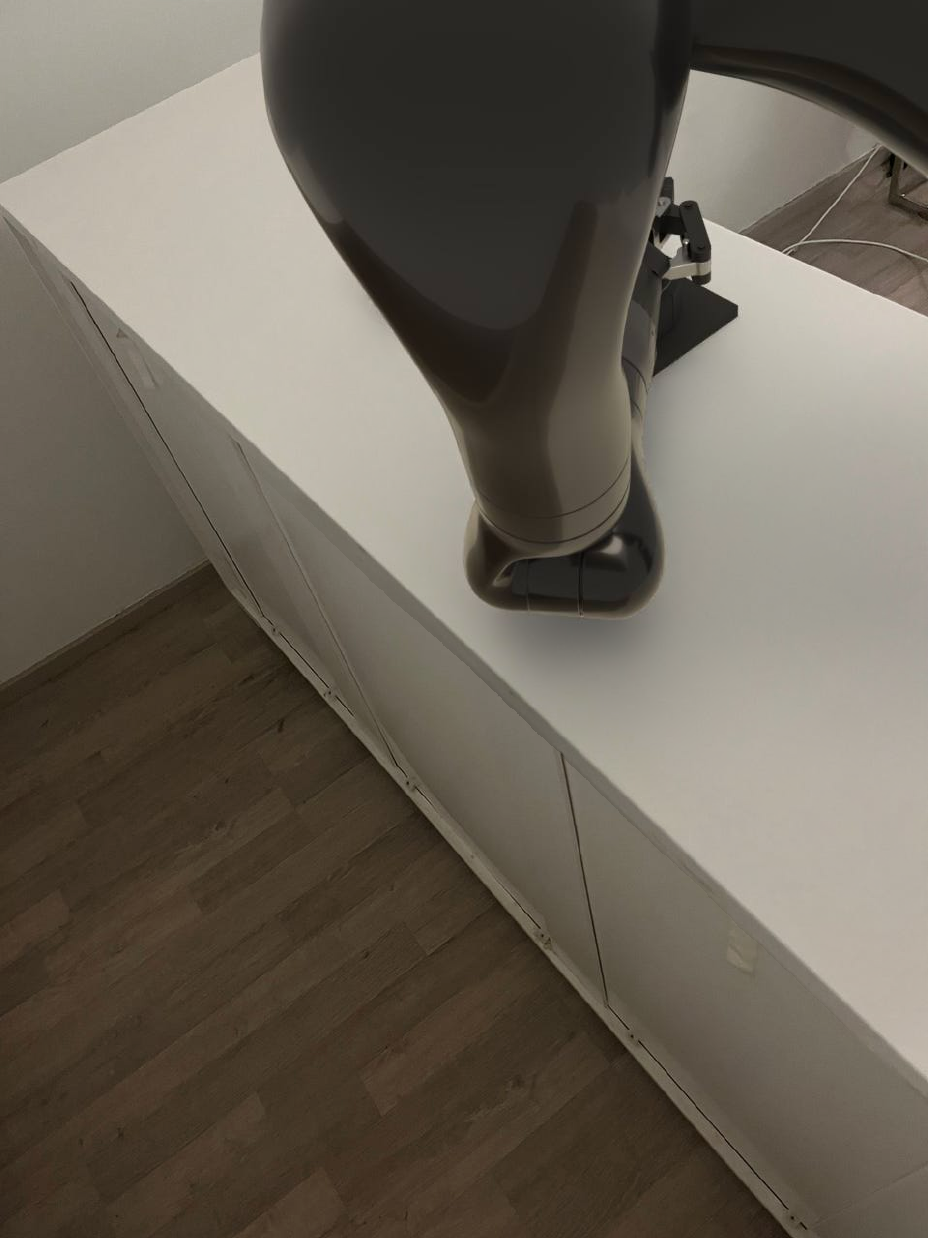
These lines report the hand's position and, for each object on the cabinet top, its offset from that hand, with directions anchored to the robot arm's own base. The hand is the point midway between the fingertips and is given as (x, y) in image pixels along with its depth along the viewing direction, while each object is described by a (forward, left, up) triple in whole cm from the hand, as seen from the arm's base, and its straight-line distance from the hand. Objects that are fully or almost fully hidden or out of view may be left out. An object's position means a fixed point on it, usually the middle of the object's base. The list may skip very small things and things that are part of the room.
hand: (618, 185), depth 69 cm
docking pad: (+2, +2, -10) cm, 10 cm away
